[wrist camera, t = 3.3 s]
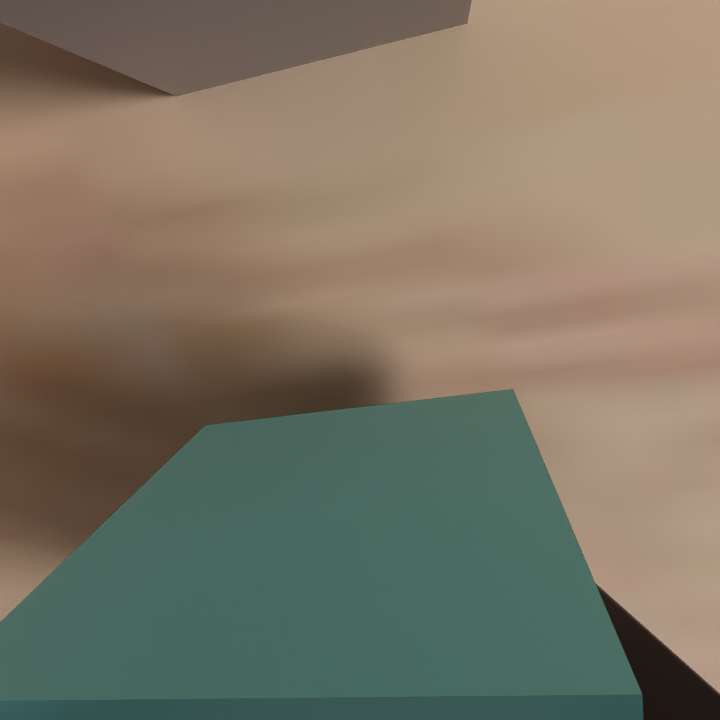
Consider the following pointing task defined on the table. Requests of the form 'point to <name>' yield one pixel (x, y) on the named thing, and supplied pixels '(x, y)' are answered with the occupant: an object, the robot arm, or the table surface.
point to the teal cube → (329, 582)
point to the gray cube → (222, 33)
